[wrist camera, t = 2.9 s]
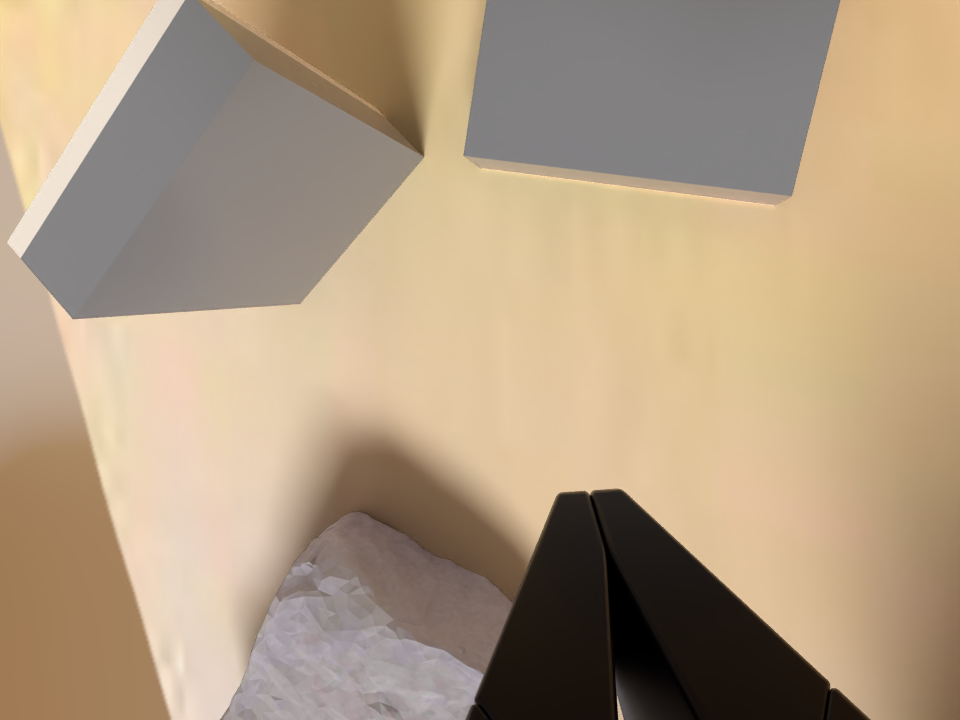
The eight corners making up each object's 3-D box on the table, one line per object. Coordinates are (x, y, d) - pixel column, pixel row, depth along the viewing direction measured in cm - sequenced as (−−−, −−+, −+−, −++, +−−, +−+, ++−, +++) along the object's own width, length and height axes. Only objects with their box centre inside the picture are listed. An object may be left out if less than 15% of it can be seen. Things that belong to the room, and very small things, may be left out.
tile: (424, 157, 20) (254, 60, 11) (299, 303, 22) (73, 318, 13) (376, 107, 20) (173, -26, 11) (257, 257, 22) (7, 242, 13)
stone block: (573, 596, 22) (336, 482, 22) (581, 698, 18) (282, 555, 17) (445, 800, 26) (237, 703, 25) (423, 932, 21) (169, 814, 21)
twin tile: (834, -49, 16) (866, -104, 14) (771, 207, 17) (791, 196, 15) (520, -59, 18) (503, -108, 16) (484, 170, 20) (463, 156, 17)
